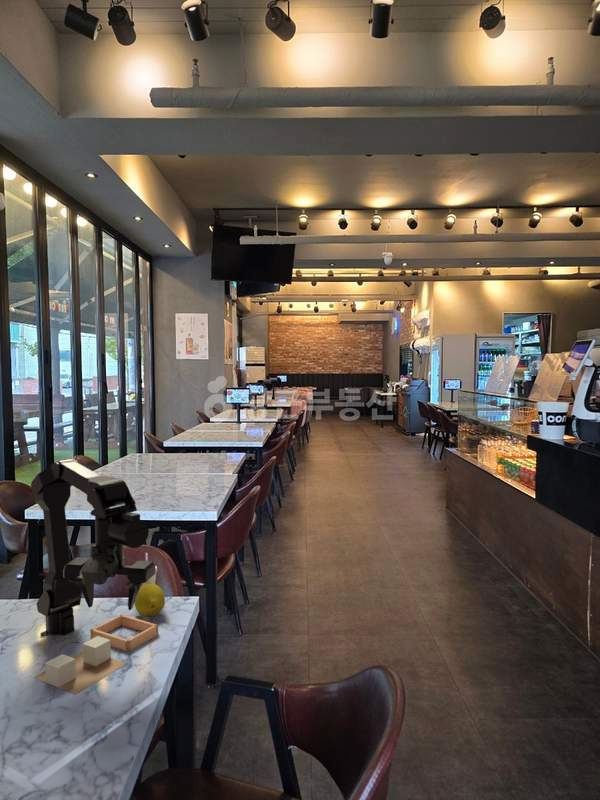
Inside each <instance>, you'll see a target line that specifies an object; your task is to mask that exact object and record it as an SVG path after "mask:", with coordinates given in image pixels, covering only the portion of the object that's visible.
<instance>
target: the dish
mask: <svg viewBox="0 0 600 800" xmlns="http://www.w3.org/2000/svg"><path fill="white" fill-rule="evenodd" d="M120 626H123V627H128V628H131V629H134V630H137V631H141V632H139V633H138V634H136V635H134V636H133V637H130V638H129V639H126V638H123V637H120V636H118V635H116V634H115V635H114V634H111V633H109V632H110V631H112V630H114V629H116V628H119V627H120ZM89 632H90V640H91V639H93V638H95V637H97V636H100V637H103V638H106V639H109V640H110V647H112V648H113V647H114V648H116V649H119V650H123V651H125V652H130V651H132V650H134V649H135V648H137V647H139V646H140V645H142V644H143V643H146V642H147V641H149V640H151V639H153V638H154V637H156V636H158V635H159V624H157V623H156V624H155V623H152V622H150V621H149V622H148V621H146V620H142V619H139V618H136V617H132V616H129V615H125V614H119V615H118V616H115V617H114V618H112V619H111V618H110V619H109V620H107V621H105V622H103V623H102V624H99V625H97V626H95V627H93V628H91V629H90V631H89Z"/></svg>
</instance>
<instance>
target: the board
mask: <svg viewBox="0 0 600 800" xmlns="http://www.w3.org/2000/svg"><path fill="white" fill-rule="evenodd" d="M71 657H72V658H74V659H75V668H76V678H75V679H73V680H71V681H69V682H68V683H66V684H64V685H62V686H61V687H59V688H58V689H61V690H62V691H65V692H68V693H70V694H72V695H74V696H75V695H78V694H80V693H82V692H83V691H84V690H86V689H88V688H89V687H91V686H92V685H94V684H96V683H97V682H99V681H101V680H102V679H104V678H106V677H107V676H109V675H110V674H112V673H114V672H116V671H117V670H119V669H121V668H123V667H124V666H126V665H128V663H127V662H123V661H121V660H118V659H115V658H113V657H111V658H110V659H108V660H106V661H104V662H103V663H101V664H99V665H97V666H93V665H91V664H88V663H85V662H83V650H82V651H81V652H79V653H77V654H74V655H73V656H71ZM33 678H34V679H37V680H38V681H41V682H44V683H46V672H45V670H44V671H42V672H41V673H39V674H37V675H35V676H33ZM47 684H49V683H47ZM49 685H50V686H52V685H51V684H49ZM54 687H56V686H54ZM56 688H57V687H56Z"/></svg>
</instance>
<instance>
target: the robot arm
mask: <svg viewBox="0 0 600 800" xmlns="http://www.w3.org/2000/svg"><path fill="white" fill-rule="evenodd" d="M72 486H73V487H74V488H76V489H77V490H79V491H81V492H82V493H84V494H85V495H86V501H87V502H88V504H89V505H90V506H92V508H93V509H92V510H91V511H90V515H91V516H93V517H94V521H95V522H94V527H95V528H94V529H95V531H94V533H95V534H94V535H95V536H94V537H95V540H94V541H95V544H93V545H92V548H91V555H90V557H80V556H79V557H75V558H74V559H72V560H71V554H70V542H69V533H68V527H67V526H68V525H67V516H66V515H67V514H66V506H67V504H68V502H69V500H70V497H71V496H72V494H71V487H72ZM30 490H31V492H32V494H33V498H34V501H35V503H36V504H37V505H38V507H40V509H41V510H42V513H43V521H44V522H43V523H44V531H45V542H46V543H45V544H46V550H47V551H46V552H47V559H48V571H47V574H46V577H45V578H44V580H43V584H42V587H43V589H42V590H43V592H42V593H41V595H40V596H39V598H38V600H37V602H36V609H37V613H40V614H41V615H42V616H45V631H44V630H43V631H42V632H40V634H39V635H40V636H42V637H44V638H45V637H47V636H50V635H52V636H59V635H60V636H67V635H70V634H71V633H73V632H75V615H74V607H77V606H80V605H81V603H82V595H83V598H84V601H85V602H86V605H87V607H88V608H92V607H93V604H94V596H95V595H94V593H95V591H94V590H95V585H97V586H102V585H104V584H105V583H106V582H107V580H108V579H109V578H115V577H116V575H118V576H119V575H122V576H127V580H128V582H126V586H127V588H128V592H127V593H128V596H127V598H128V599H127V607H128V608H127V609H128V610H129V611H131V610H133V607H134V606H135V604H134V602H135V600H136V597H137V595H138V592H139V590H140V587H141V585H142V584H143V583H145V582H147V581H148V580H149V579H150V578H151V577H152V576H153V575H154V574H155V573H156V574H157V572H156V568H155V566H156V565H155V563H154V562H153V560H152V561H150V560H148V561H146V560H137V561H136V562H134V563H133V564H132V565H126V564H125V563H126V562H127V557H126V556H125V555H124V546H126V547H129V548H132V549H137V548H140V547H142V546H143V545H144V544H145V542H146V541H147V540H148V538H149V533H150V531H149V529H150V528H149V526H148V525H147V522H145V521H144V520H141V514H140V513H137V511H138V509H137V507H136V501H135V499H134V497H133V496H132V493H131V492H130V489H129V486H128V485H127V482H125V480H124V479H122V478H118V477H114V476H104V475H100V474H98V473H97V472H95V471H93V470H91V469H90V468H87V467H86V466H85V465H83V464H80V463H79V462H78V460H76V459H73V458H71V459H63V460H57V461H55V462H53V463H52V464H51V465H50V466H49V467H48V468H46V469H44V470H42V471H40V472H39V473H38V474H37V475H35V477H34V478H33V479H32V480H31V483H30ZM134 512H135V513H134Z"/></svg>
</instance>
